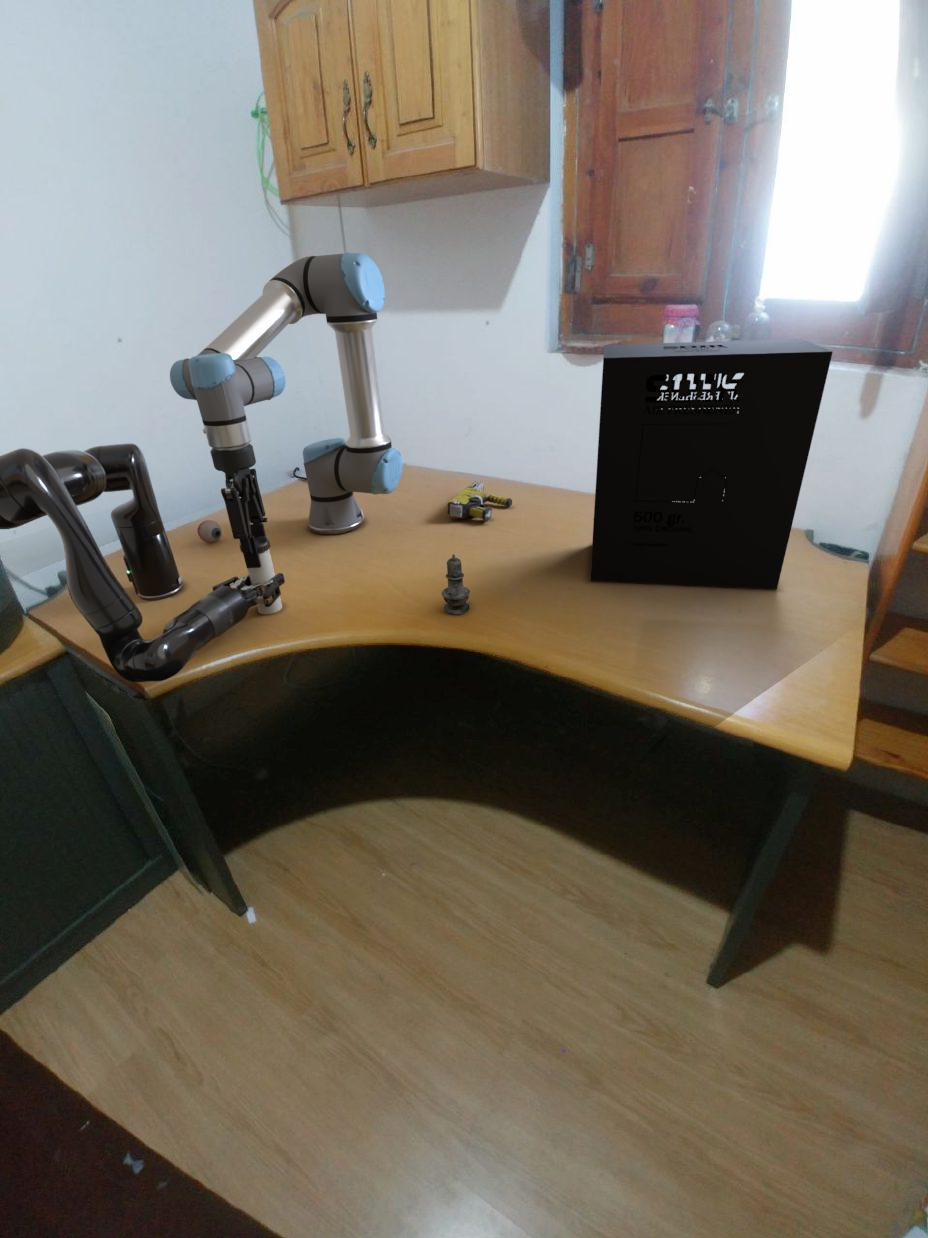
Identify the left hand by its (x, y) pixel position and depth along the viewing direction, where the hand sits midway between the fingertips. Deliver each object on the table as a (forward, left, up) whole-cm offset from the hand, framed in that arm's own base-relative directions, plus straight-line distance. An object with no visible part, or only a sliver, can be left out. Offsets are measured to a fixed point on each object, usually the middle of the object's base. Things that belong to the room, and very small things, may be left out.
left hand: (271, 575), depth 127 cm
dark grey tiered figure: (+39, +8, -7) cm, 40 cm away
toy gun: (+24, +66, -7) cm, 71 cm away
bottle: (0, -3, -7) cm, 7 cm away
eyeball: (-39, +24, -7) cm, 47 cm away
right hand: (0, -3, +5) cm, 5 cm away
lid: (0, -3, +9) cm, 9 cm away
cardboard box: (+79, +41, -7) cm, 89 cm away
